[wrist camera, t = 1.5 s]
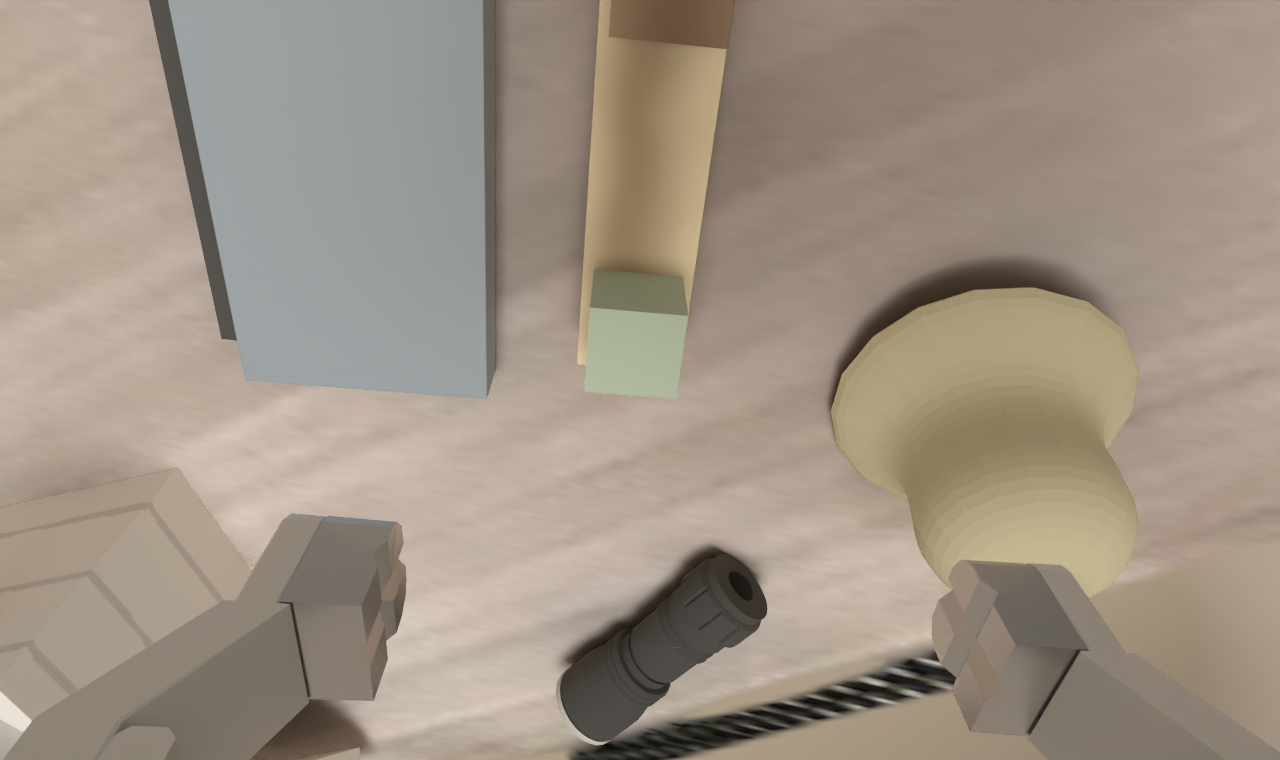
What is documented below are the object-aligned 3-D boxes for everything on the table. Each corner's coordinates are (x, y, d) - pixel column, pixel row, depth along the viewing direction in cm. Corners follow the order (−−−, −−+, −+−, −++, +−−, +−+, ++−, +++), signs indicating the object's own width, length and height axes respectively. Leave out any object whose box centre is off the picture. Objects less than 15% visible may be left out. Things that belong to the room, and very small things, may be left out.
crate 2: (682, 276, 34) (688, 315, 30) (672, 354, 36) (676, 398, 32) (594, 268, 34) (589, 307, 30) (588, 347, 36) (584, 391, 32)
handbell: (1187, 367, 39) (1609, 944, 20) (959, 512, 48) (1106, 1009, 29) (983, 211, 35) (1282, 764, 16) (773, 402, 44) (803, 905, 25)
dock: (494, -242, 27) (480, -260, 25) (495, 369, 41) (486, 399, 38) (127, -289, 27) (73, -312, 24) (250, 350, 40) (224, 378, 37)
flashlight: (708, 531, 47) (717, 597, 43) (768, 572, 49) (782, 638, 44) (559, 656, 53) (552, 725, 48) (617, 688, 55) (616, 757, 50)
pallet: (737, -114, 30) (751, -120, 26) (675, 334, 40) (679, 372, 36) (611, -129, 29) (608, -137, 26) (581, 326, 39) (577, 364, 36)
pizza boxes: (183, 777, 60) (27, 1072, 45) (-92, 495, 45) (-471, 793, 29) (405, 740, 58) (323, 1036, 42) (195, 430, 43) (-53, 715, 27)
